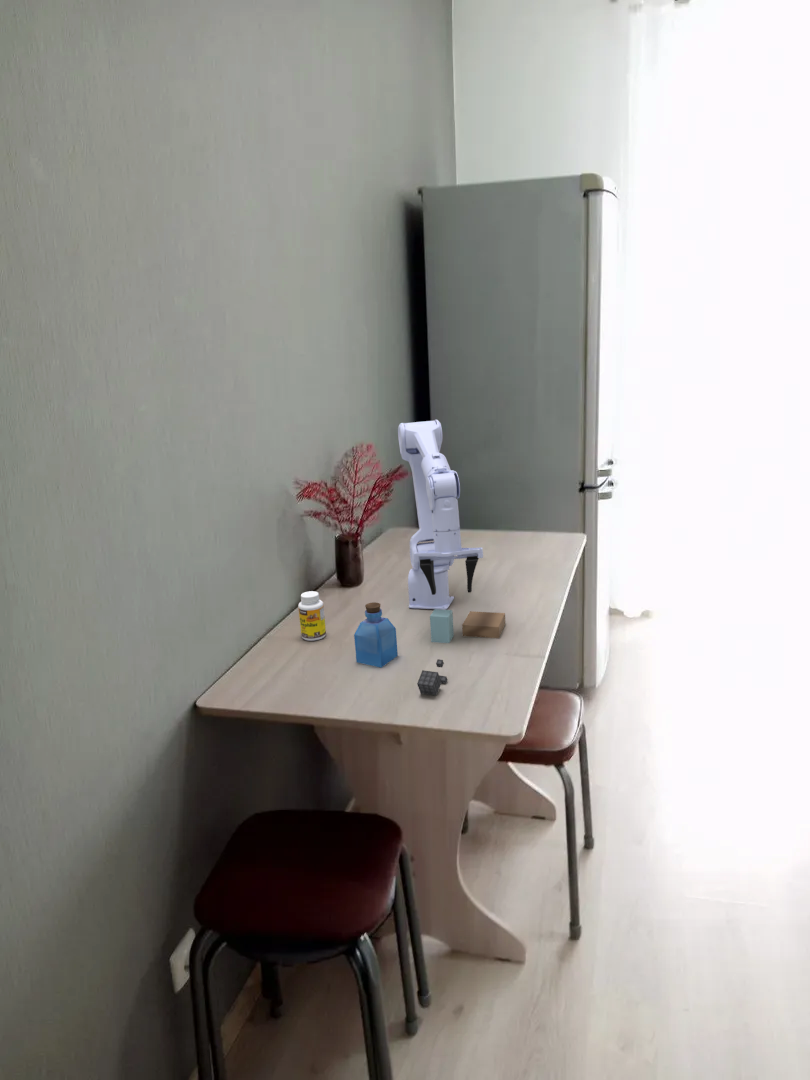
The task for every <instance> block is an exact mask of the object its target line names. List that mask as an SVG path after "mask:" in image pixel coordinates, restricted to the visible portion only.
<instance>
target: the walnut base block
mask: <svg viewBox="0 0 810 1080" xmlns="http://www.w3.org/2000/svg"><path fill="white" fill-rule="evenodd" d="M505 625H506V613H505V612H492V611H490V612H489V611H473V610H471V611H469V613H468V614H467V616H466V617H465V619H464V621H463V623H462V625H461V628H462V637H469V638H471V637H472V638H486V639H488V638H490V639H500V637H501V635H502V633H503V631H504V628H505Z"/></svg>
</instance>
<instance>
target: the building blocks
mask: <svg viewBox="0 0 810 1080" xmlns="http://www.w3.org/2000/svg"><path fill="white" fill-rule="evenodd" d="M435 664H436V667H437V668H443V667H444V664H445V663H444V660H443V659H440V658H439V659H437V660H436V662H435ZM418 678H419V679H418V681H417V683H416V684H417V687H418V690H419V692H420V694H421V695H429V696H437V695H438V693H439V690H440V689H441V688H440V687H441V685H442V684H443V685H444V684H447V683H448V677H447V676H445V675H440V674H439V671H432V670H431V671H430V670H423V669H422V671H421V672H420V676H419V677H418Z"/></svg>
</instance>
